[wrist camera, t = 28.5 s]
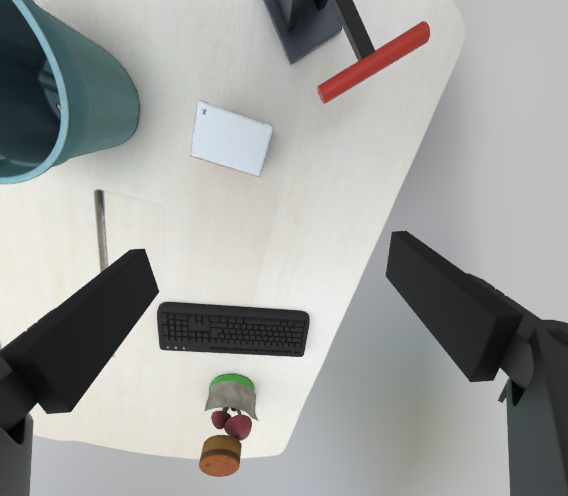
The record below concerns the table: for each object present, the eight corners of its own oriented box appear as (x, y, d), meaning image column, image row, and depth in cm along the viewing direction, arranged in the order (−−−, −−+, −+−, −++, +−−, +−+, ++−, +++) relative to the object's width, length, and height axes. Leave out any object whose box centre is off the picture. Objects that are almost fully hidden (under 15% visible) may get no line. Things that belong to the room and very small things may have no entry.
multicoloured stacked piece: (257, 405, 61) (253, 483, 47) (206, 402, 59) (187, 481, 46) (263, 373, 56) (260, 450, 42) (208, 369, 54) (186, 447, 41)
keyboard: (310, 311, 48) (311, 318, 47) (302, 350, 53) (303, 357, 51) (158, 301, 46) (153, 308, 44) (163, 343, 50) (159, 350, 49)
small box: (210, 150, 35) (187, 156, 26) (218, 108, 33) (195, 97, 23) (263, 168, 36) (260, 179, 27) (274, 128, 34) (274, 125, 25)
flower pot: (161, 172, 36) (85, 196, 22) (43, 155, 34) (-126, 169, 20) (152, 33, 29) (32, -68, 15) (5, 5, 28) (-294, -141, 13)
